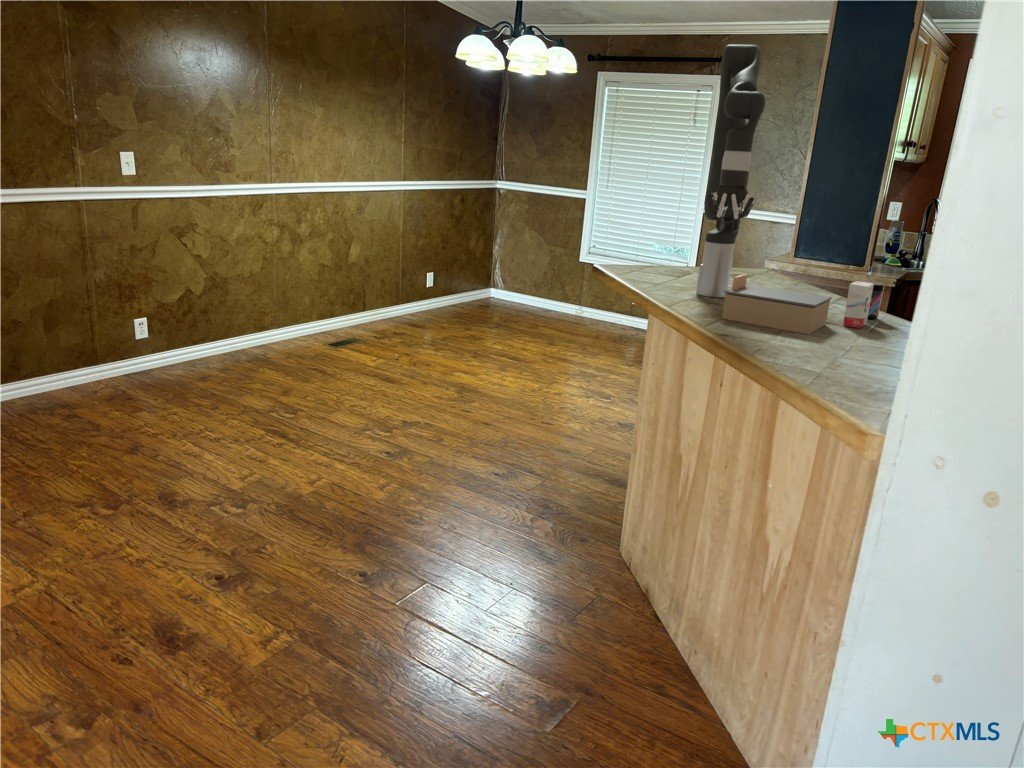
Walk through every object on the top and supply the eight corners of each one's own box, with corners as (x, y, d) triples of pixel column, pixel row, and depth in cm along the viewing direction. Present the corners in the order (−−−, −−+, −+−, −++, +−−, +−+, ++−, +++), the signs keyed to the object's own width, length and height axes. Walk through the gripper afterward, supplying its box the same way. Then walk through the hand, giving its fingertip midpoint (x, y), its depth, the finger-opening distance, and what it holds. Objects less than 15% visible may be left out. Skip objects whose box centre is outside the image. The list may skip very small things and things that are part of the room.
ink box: (860, 329, 202) (868, 286, 199) (841, 325, 205) (849, 284, 202) (867, 324, 209) (875, 283, 206) (848, 321, 212) (856, 280, 208)
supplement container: (854, 318, 216) (861, 283, 213) (851, 314, 222) (857, 280, 219) (879, 321, 214) (887, 285, 211) (875, 316, 220) (882, 282, 217)
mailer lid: (724, 292, 204) (726, 278, 203) (745, 286, 216) (747, 272, 215) (814, 307, 190) (817, 291, 189) (831, 299, 203) (834, 284, 202)
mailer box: (721, 318, 206) (725, 294, 204) (741, 310, 218) (745, 287, 216) (809, 334, 193) (814, 308, 191) (825, 324, 205) (830, 300, 203)
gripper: (705, 167, 204) (697, 229, 209) (756, 170, 196) (746, 235, 201) (716, 167, 210) (708, 228, 215) (765, 170, 202) (755, 233, 207)
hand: (726, 231), depth 208 cm, fingers open, 3 cm apart
